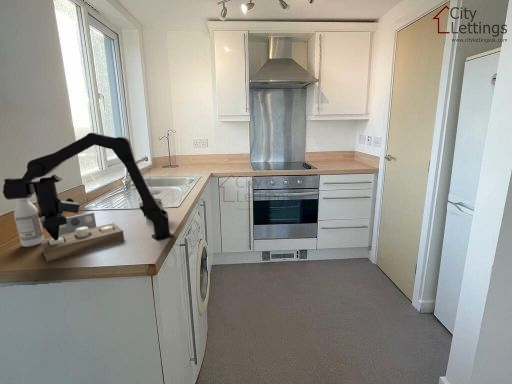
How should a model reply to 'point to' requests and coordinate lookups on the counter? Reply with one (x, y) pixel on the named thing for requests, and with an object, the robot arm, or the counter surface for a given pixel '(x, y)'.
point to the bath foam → (28, 223)
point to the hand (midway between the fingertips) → (56, 239)
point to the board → (81, 242)
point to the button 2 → (106, 229)
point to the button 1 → (56, 241)
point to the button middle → (82, 232)
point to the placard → (77, 223)
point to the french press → (153, 192)
